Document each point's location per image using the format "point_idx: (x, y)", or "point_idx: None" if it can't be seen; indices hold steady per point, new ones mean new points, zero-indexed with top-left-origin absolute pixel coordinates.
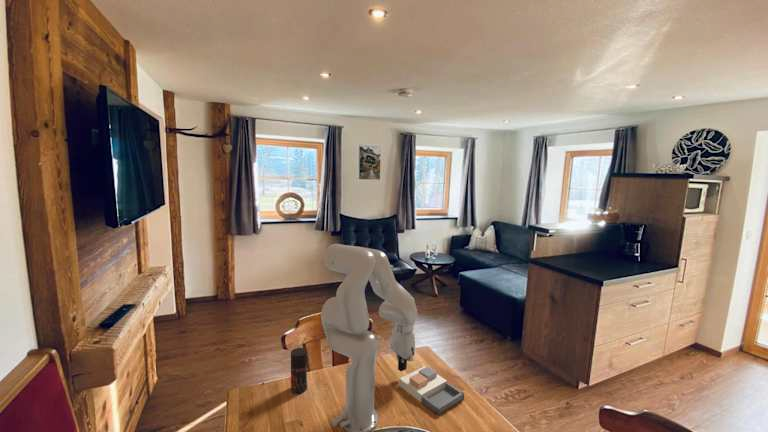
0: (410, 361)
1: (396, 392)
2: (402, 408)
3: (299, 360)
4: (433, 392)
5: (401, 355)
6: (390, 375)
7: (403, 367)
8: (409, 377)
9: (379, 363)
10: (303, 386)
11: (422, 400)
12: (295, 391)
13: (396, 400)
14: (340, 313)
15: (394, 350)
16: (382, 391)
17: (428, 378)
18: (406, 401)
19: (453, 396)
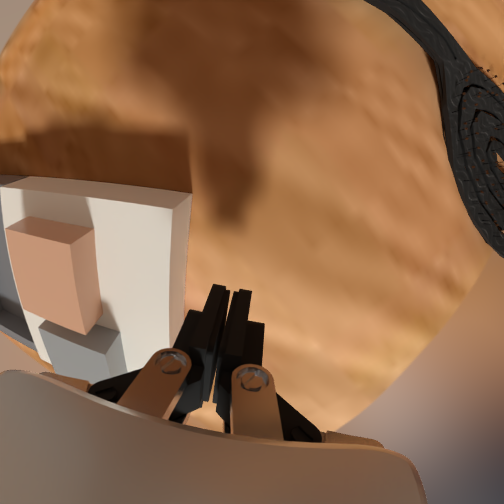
0: (43, 373)
1: (155, 121)
2: (57, 63)
3: None
4: None
5: (69, 417)
6: (323, 245)
7: (184, 321)
8: (134, 276)
9: (445, 295)
10: None
11: (14, 179)
12: None
13: (109, 69)
14: None
15: (294, 481)
16: (237, 52)
17: (46, 323)
18: (69, 115)
19: (10, 301)
